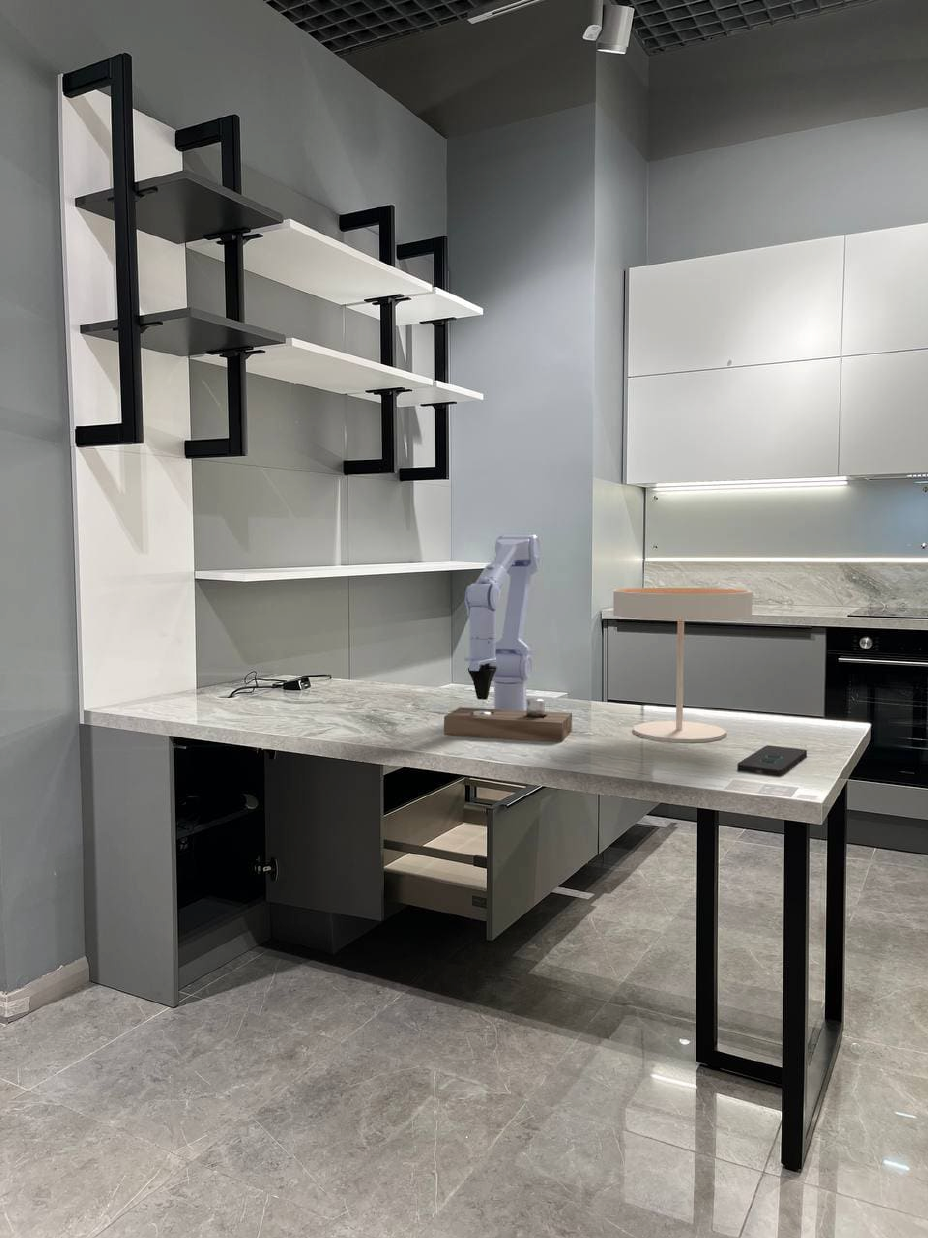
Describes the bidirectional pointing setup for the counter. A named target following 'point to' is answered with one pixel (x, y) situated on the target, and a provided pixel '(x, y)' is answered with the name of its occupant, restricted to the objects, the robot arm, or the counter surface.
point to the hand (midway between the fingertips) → (482, 699)
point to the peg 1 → (482, 713)
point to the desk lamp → (681, 641)
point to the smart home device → (772, 760)
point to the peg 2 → (535, 708)
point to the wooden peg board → (508, 724)
